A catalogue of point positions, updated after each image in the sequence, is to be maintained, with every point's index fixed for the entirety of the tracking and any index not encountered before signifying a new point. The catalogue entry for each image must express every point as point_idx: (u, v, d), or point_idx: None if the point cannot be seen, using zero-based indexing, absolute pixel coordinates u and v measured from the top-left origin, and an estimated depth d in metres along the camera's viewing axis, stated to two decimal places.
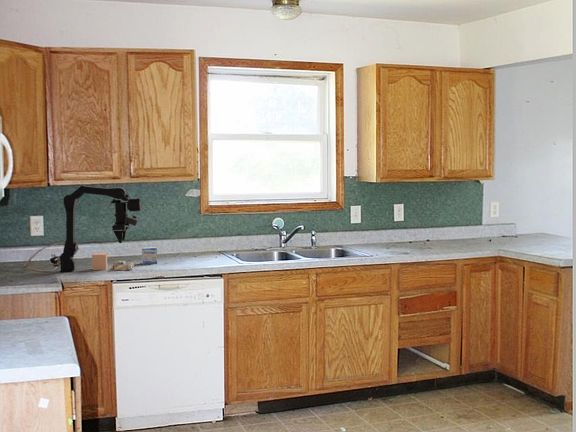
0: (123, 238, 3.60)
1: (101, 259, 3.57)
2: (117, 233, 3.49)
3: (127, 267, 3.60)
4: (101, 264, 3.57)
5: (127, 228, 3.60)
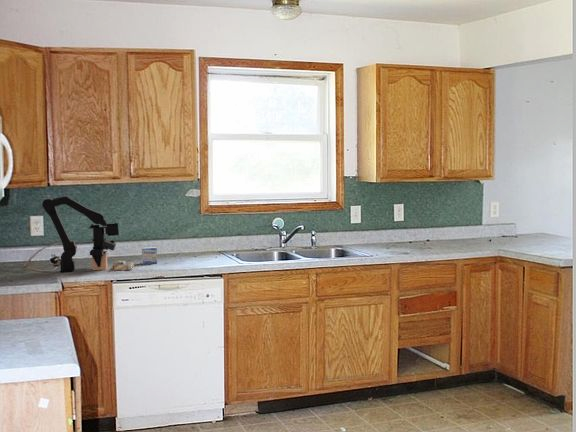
0: None
1: (101, 259, 3.57)
2: (96, 257, 3.55)
3: (127, 267, 3.60)
4: (101, 264, 3.57)
5: None
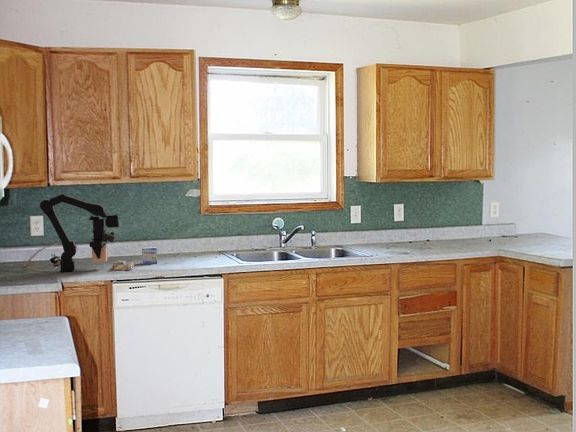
0: None
1: (101, 251, 3.56)
2: (95, 249, 3.54)
3: (127, 267, 3.60)
4: (101, 256, 3.57)
5: None
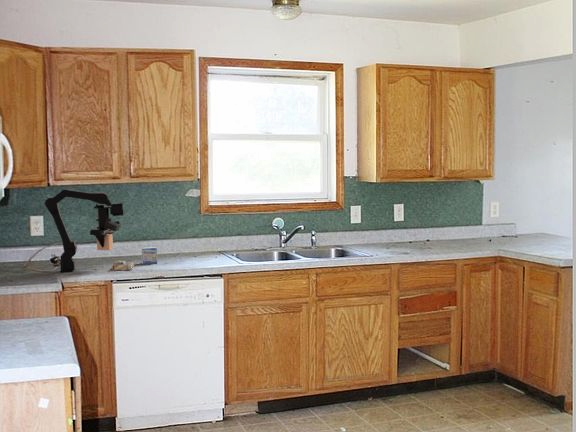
0: None
1: None
2: (99, 237, 3.54)
3: (127, 267, 3.60)
4: (105, 244, 3.56)
5: None
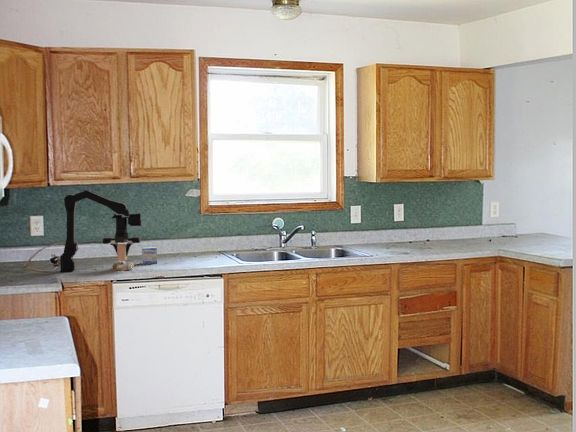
0: (126, 254, 3.59)
1: None
2: None
3: (127, 267, 3.60)
4: None
5: None
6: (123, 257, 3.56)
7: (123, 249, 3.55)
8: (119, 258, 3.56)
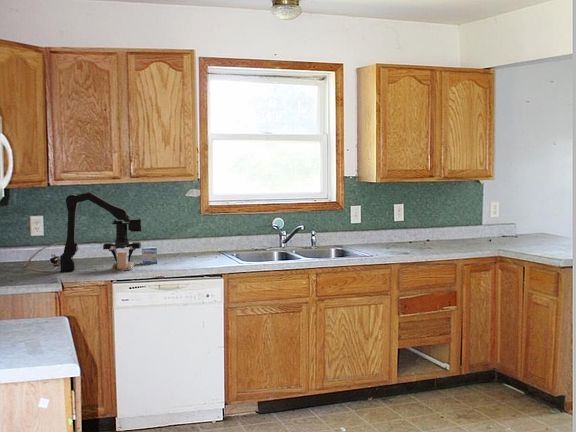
0: None
1: None
2: None
3: (127, 267, 3.60)
4: None
5: None
6: (123, 265, 3.56)
7: (123, 257, 3.56)
8: (119, 266, 3.56)
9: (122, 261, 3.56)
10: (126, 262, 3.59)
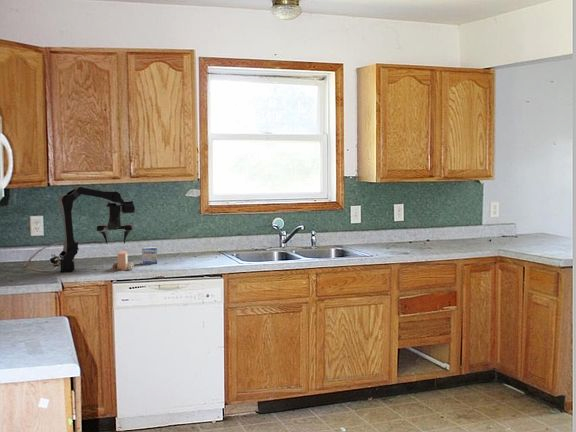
0: (124, 241, 3.68)
1: None
2: None
3: (127, 267, 3.60)
4: None
5: (124, 232, 3.65)
6: (123, 265, 3.56)
7: (123, 257, 3.56)
8: (119, 266, 3.56)
9: (122, 261, 3.56)
10: (126, 262, 3.59)
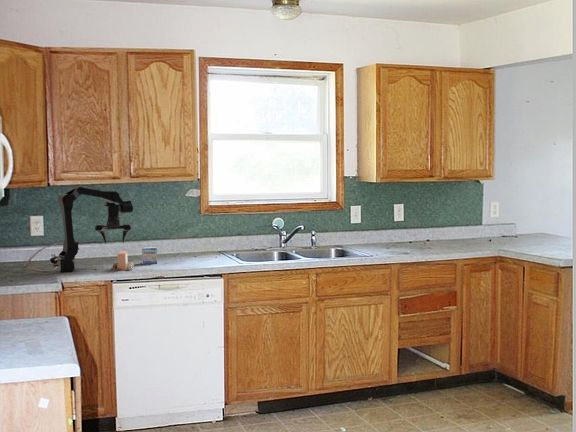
0: None
1: None
2: None
3: (127, 267, 3.60)
4: None
5: None
6: (123, 265, 3.56)
7: (123, 257, 3.56)
8: (119, 266, 3.56)
9: (122, 261, 3.56)
10: (126, 262, 3.59)
